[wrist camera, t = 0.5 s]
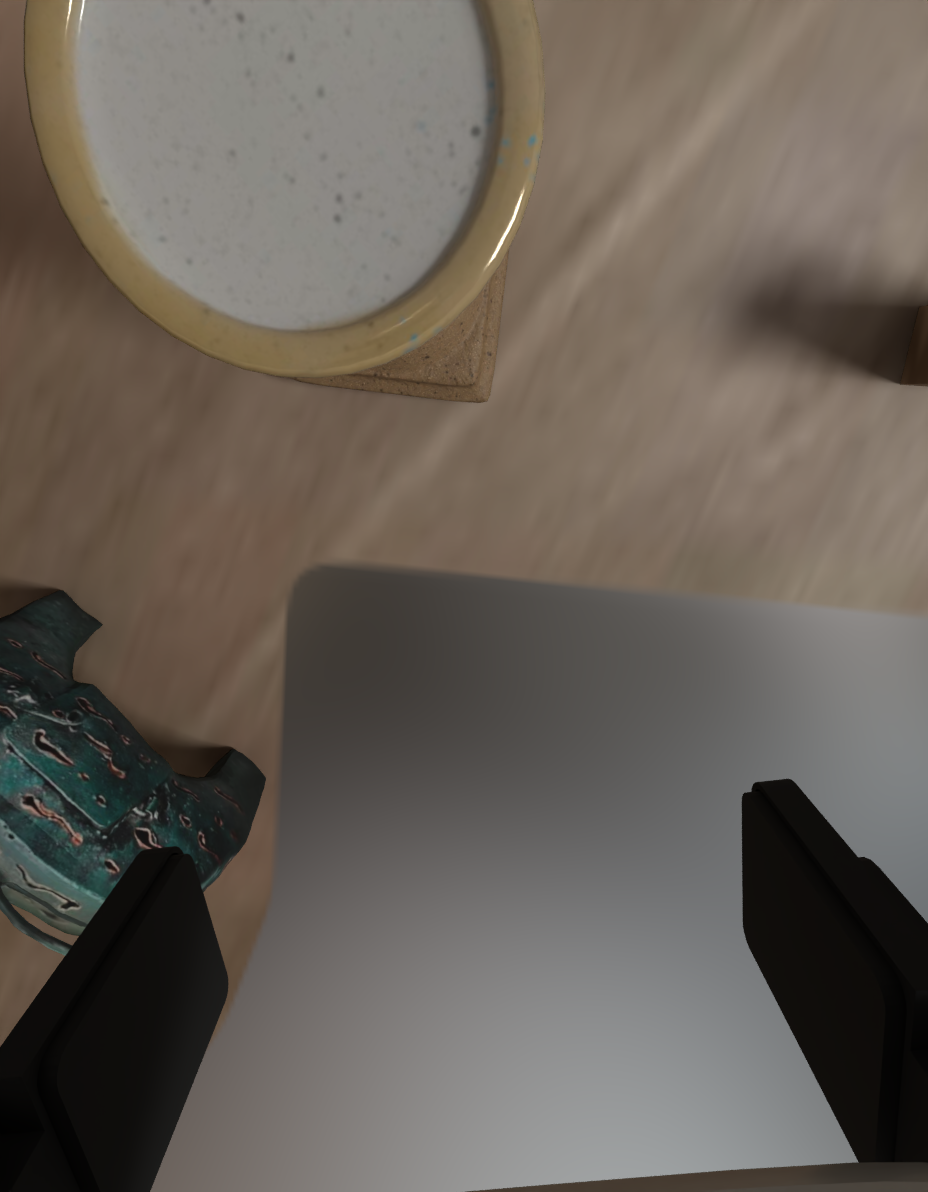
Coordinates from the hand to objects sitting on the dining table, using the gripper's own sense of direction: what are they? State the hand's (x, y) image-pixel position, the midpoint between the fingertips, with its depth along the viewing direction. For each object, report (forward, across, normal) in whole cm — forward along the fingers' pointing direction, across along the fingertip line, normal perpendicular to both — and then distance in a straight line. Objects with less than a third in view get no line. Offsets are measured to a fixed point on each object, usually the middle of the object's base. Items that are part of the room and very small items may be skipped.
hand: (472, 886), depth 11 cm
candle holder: (+30, +2, -14) cm, 33 cm away
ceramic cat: (+30, +22, +8) cm, 38 cm away
